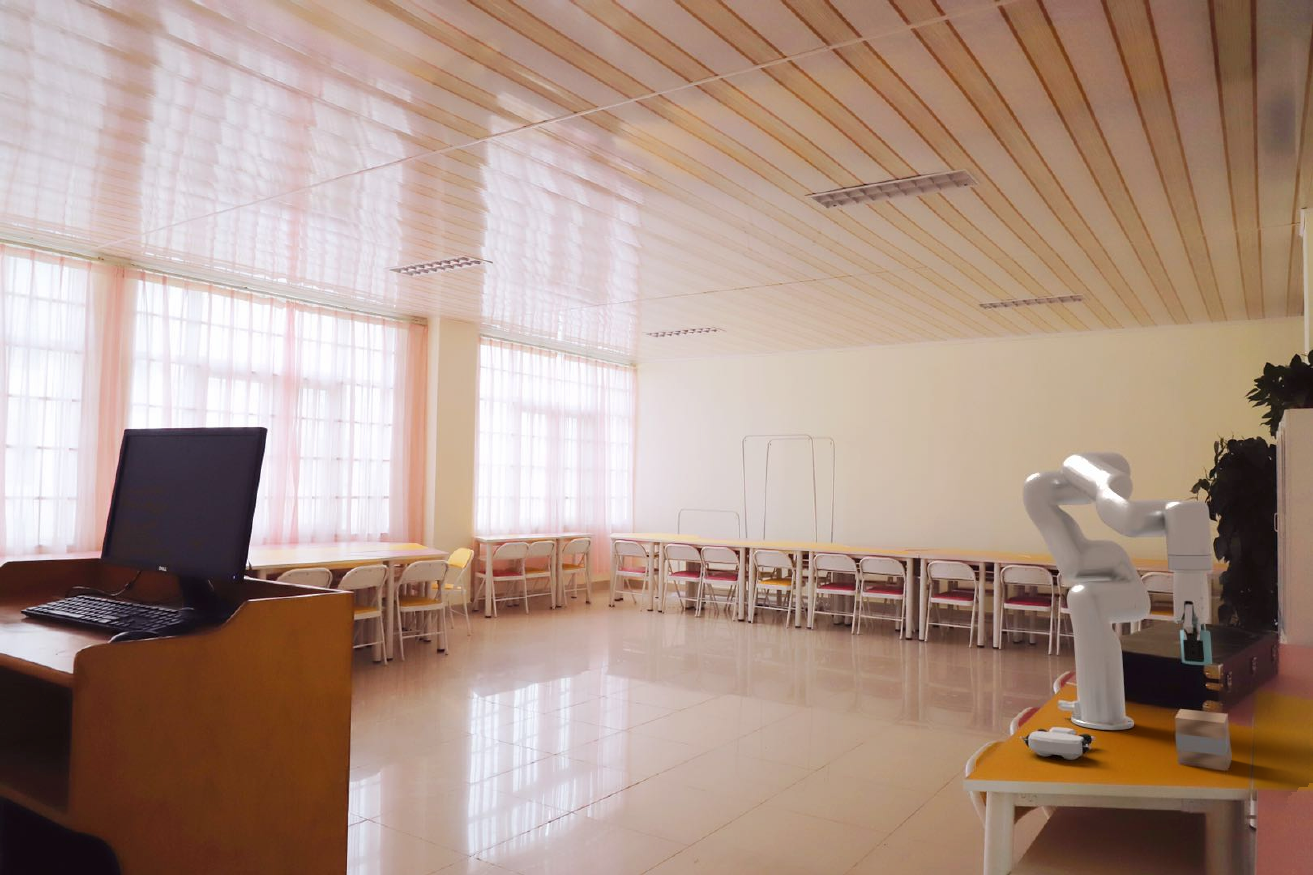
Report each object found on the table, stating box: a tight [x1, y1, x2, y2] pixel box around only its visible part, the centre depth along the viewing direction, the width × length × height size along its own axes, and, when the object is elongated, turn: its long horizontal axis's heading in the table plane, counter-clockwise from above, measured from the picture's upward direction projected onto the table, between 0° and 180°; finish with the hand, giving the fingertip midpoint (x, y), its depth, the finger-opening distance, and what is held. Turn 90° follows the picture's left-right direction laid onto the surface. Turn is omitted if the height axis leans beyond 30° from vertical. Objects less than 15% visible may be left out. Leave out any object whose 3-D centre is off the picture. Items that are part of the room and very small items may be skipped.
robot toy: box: [1019, 726, 1096, 761], centre depth 180 cm, size 12×4×15 cm
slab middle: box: [1175, 730, 1231, 756], centre depth 172 cm, size 8×8×3 cm
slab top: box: [1174, 708, 1230, 739], centre depth 172 cm, size 8×8×3 cm
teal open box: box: [1179, 629, 1213, 666], centre depth 173 cm, size 5×5×6 cm
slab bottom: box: [1176, 745, 1233, 771], centre depth 171 cm, size 8×8×3 cm
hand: (1196, 658), depth 173 cm, fingers closed on teal open box, 4 cm apart
